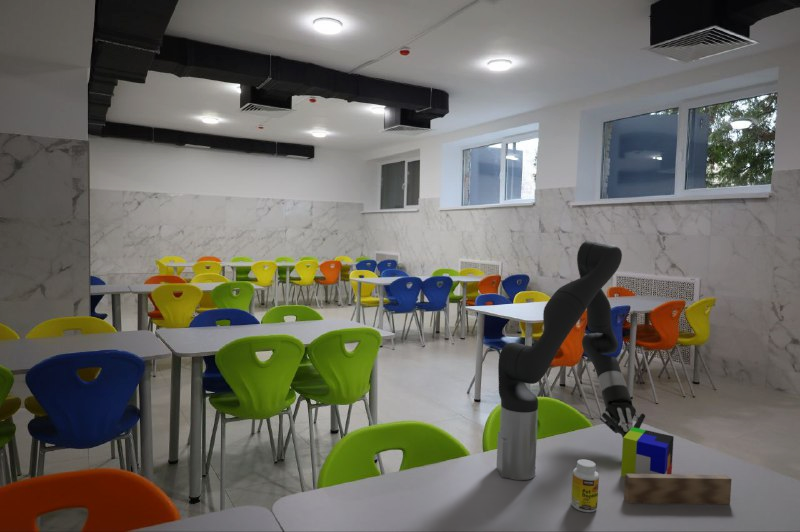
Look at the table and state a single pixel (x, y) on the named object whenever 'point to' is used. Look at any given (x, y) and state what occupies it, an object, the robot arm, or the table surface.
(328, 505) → the table surface
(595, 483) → the supplement bottle
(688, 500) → the board
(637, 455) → the puzzle toy
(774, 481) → the table surface
